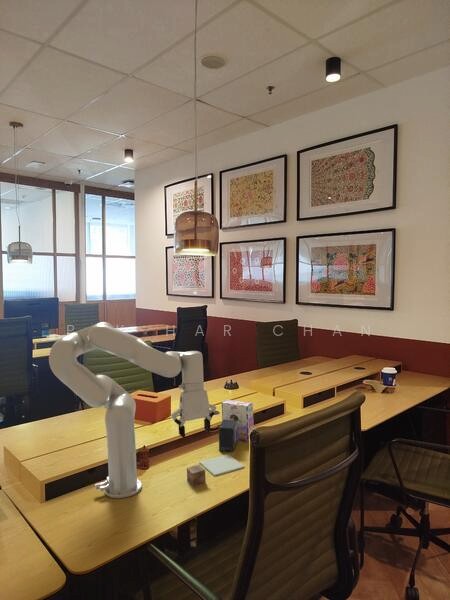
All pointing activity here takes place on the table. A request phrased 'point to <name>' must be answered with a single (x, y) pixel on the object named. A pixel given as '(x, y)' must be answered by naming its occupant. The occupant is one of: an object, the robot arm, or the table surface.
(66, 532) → the table surface
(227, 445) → the small box
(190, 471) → the cube
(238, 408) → the candy box
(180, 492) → the table surface
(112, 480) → the robot arm
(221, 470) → the mat
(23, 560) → the table surface
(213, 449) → the table surface
